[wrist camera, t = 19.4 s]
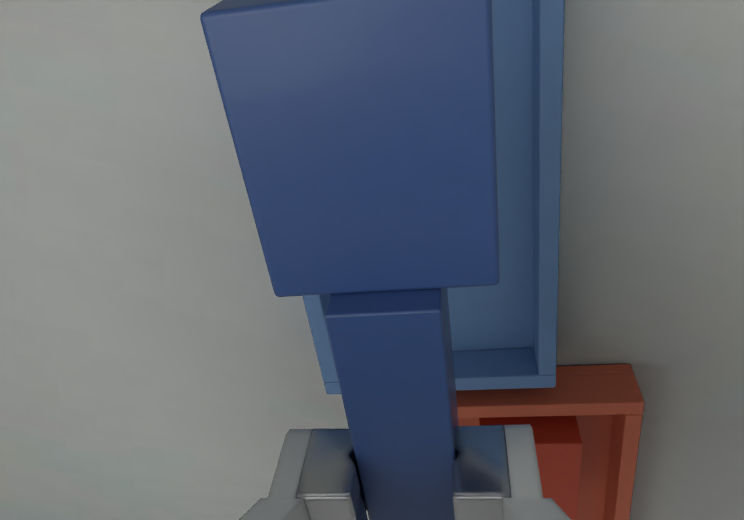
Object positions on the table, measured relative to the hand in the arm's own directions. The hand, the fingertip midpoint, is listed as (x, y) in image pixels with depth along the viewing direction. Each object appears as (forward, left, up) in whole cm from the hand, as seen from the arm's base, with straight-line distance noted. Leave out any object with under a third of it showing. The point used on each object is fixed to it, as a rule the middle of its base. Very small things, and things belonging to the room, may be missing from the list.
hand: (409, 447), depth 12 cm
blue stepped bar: (+2, 0, -2) cm, 3 cm away
